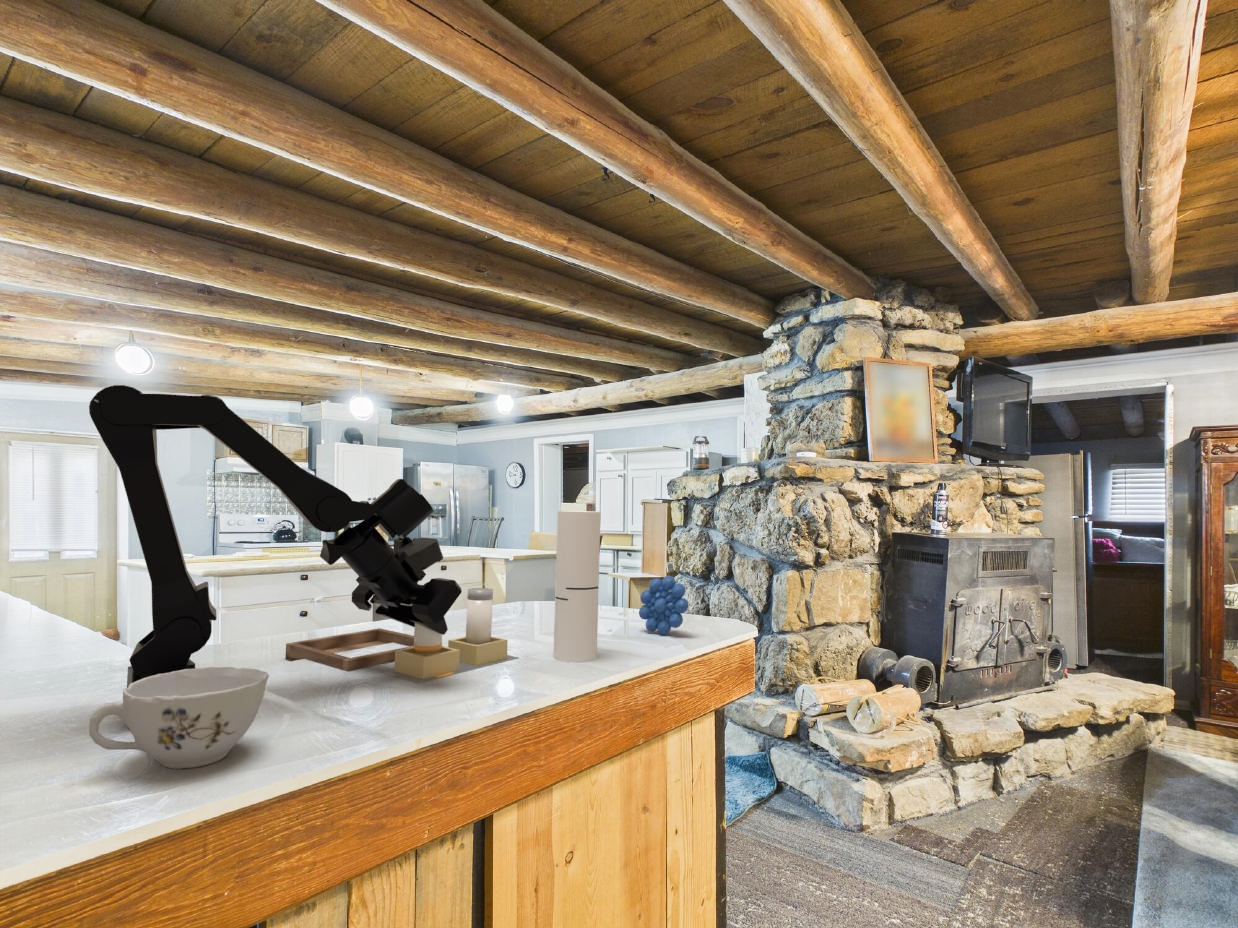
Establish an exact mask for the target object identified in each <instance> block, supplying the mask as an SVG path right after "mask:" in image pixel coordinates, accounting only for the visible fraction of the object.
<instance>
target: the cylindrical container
mask: <svg viewBox="0 0 1238 928" xmlns="http://www.w3.org/2000/svg"><path fill="white" fill-rule="evenodd" d="M601 513H602V512H601V511H597V510H596V511H595V510H594V511H593V510H557V522H556V524H557V525H556V526H557V527H556V528H557V529H556V530H557V531H556V557H555V560H556V561H555V587H554V588H555V589H554V591H555V593H554V594H555V595H554V596H555V597H554V623H553V624H554V628H553V629H554V630H553V631H554V632H553V659H554V660H556V661H558V662H563V663H574V664H575V663H577V664H578V663H589V662H593V661H595V660H596V659H597V658H598V627H599V625H598V624H599V622H598V620H599V591H600V590H599V584H600V550H601V549H600V546H601V543H600V542H601Z"/></svg>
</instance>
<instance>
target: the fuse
mask: <svg viewBox="0 0 1238 928" xmlns="http://www.w3.org/2000/svg"><path fill="white" fill-rule="evenodd" d="M493 598H494V589H493V588H488V587H485V588H484V587H475V588H468V589H467V599H466V600H467V601H466V602H467V603H466V604H467V605H466V623H465V624H466V625H465V637H466V643H470V644H474V645H480V644H485V643H489V642H491V636H492V622H493V621H492V620H493V603H494V602H493Z"/></svg>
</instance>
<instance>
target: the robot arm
mask: <svg viewBox="0 0 1238 928" xmlns="http://www.w3.org/2000/svg"><path fill="white" fill-rule="evenodd" d="M92 397H93V398H91V400H90V401H89V406H88V409H89V412H88V413H89V416H90V418H91V420H92V422H93V424H94V426H95V428H96V430H97V432H98V434H99V436H100V438H101V440H102V442H103V443H104V445H105V447H106V448H107V450H108V451H109V454H110V456H111V457H112V458H113V460H114V462H115V464H116V466H117V467H118V470H119V472H120V476H121V480H122V482H123V487H124V490H125V493H126V498H127V501H128V504H129V507H130V508H129V509H130V512H131V514H132V519H133V523H134V525H135V529H136V534H137V536H138V540H139V543H140V547H141V550H142V554H143V557H144V561H145V564H146V568H147V571H148V575H149V578H150V582H151V584H150V585H151V611H152V612H151V616H152V630H151V631H150V632H149V633H148V634H146V635H145V636H144V637H143V638H142V639H141V640H139V641H137V644H136V645H135V647H134V649H133V651H132V654H131V656H130V658H129V663H130V666H128V667H127V678H126V679H127V680H126V689H127V688H128V687H129V685H130V684H131V683H134V682H136V681H138V680H141V679H143V678H146V677H150V676H153V675H157V674H164V673H170V672H173V671H179V670H184V669H195V668H196V663H195V662H194V661H193V660H192V659H190V658H191V656H192V655H193V654H194V653H197V652H199V651H200V650H201V649H202V648H204V647H205V646H206V644H207V643H208V641H209V640H210V638H211V636H212V632H213V631H212V630H213V629H212V625H213V624H212V621H216V620H217V608H215V607H214V605H212V602H211V599H210V590H209V589H210V588H209V587H210V586H209V582H208V581H204V582H202V583H200V584H198V585H196V582H194V580H193V578H192V576H191V575H190V573H189V570H188V568H187V564H186V561H185V557H184V553H183V551H182V547H181V543H180V539H179V536H178V532H177V528H176V526H175V521H174V518H173V515H172V510H171V507H170V504H169V499H168V496H167V493H166V489H165V485H164V482H163V478H162V475H161V471H160V468H159V465H158V464H159V463H158V462H159V461H158V439H157V438H158V437H157V436H158V435H157V433H158V432H157V431H158V430H181V429H182V430H184V429H203V430H205V431H206V432H207V433H209V434H210V435H211V436H213V437H214V438H215V439H216V440H217V441H219V442H220V443H221V444H222V445H224V447H226V448H227V449H229V450H230V451H231V452H232V453H234V454H235V456H237V457H238V458H240V459H241V460H242V461H244V463H246V464H248V466H250V467H251V468H252V469H253V470H255V471H256V472H257V473H258V474H260V475H261V476H262V477H263V478H265V479H266V480H267V481H269V482H270V483H271V484H272V486H275V488H277V489H278V491H279V492H280V493H281V494H282V495H283V497H285V499H286V500H287V502H289V504H290V505H291V507H292V508H294V509H295V511H296V512H297V513H298V514H299V515H300V517H302V519H303V520H304V521H305V522H306V523H307V525H308V526H310V527H312V528H313V529H315V530H318V531H320V532H324V533H336V532H338V531H341V530H343V531H342V532H341V533H339V534H338V535H337V536H335V537H334V538H332V539H323V540H322V548H321V551H320V554H319V557H320V558H321V559H322V560H323V561H324V562H326V563H327V564H328V565H329V566H332V565H334V564H335V563H336V562H337V561H338V560H339V559H343V560H344V562H345V563H346V564H347V565H348V567H350V568H351V569H352V571H353V572H354V573H355V574H356V575H357V578H356V579H355V582H357V583H358V585H357V586H356V587H355V588H354V589H353V591H352V592H351V602H352V603H353V605H355V607H356V608H357V609H358V610H362V611H366V612H367V611H368V612H369V611H371V609H372V608H373V607H372V605H375V606H376V607H377V608H376V609H375V614H376V615H379V616H382V617H385V618H388V619H390V620H393V621H396V622H399V623H402V624H404V625H407V626H410V627H412V628H415V623H416V624H419V625H421V626H423V627H426V628H428V629H430V630H432V631H435V632H437V633H439V634H442V636H444V635H446V633H447V632H448V630H449V629H448V625H447V622H446V619H445V616H446V614H447V613H448V611H449V610H450V609H451V608H452V606H453V605H454V603H455V602H456V600H457V599H458V598H459V597H460V595H461V594H462V593H463V592H462V591H463V590H462V587H461V586H460V585H459V583H458V582H457V581H456V580H455V579H450V578H443V577H441V578H440V577H435V578H430V580H429V581H428V582H426V583H423V584H419V583H418V582H421V581H422V580H423V579H424V578H425V577H426V576H427V574H426V572H425V570H427V569H428V568H430V567H431V566H433V565H435V564H437V562H438V563H440V562H441V561H443V559H444V555H443V553H442V550H441V546H440V544H439V541H438V539H437V538H433V537H432V538H431V537H419V538H418V537H417V538H415V537H414V538H412V539H411V537H409V536H408V535H410V534H411V533H412V532H413V531H415V530H416V529H417V528H418V527H419V526H420V525H421V524H422V523H423V522H424V521H425V520H426V519H428V518H429V517H431V515H432V514H434V509H433V506H432V505H431V503H429V501H428V499H426V497H425V495H423V494H422V493H419V492H418V491H417V490H416V489H414V488H413V487H412V486H411V485H410V484H408V483H407V482H406V480H405V479H404V478H397V479H396V480H395V481H394V482H393V483H392V484H391V485H390V486H389V487H388V489H386V490H385V491H384V492H382V494H380V495H379V496H378V497H377V498H375V499H374V500H373V501H372V502H371V503H370V502H369V501H368V500H360V501H356V500H353V499H352V497H350V496H349V494H348V493H346V492H345V491H344V490H341V489H340V488H339V487H336V486H334V484H332V483H329V482H328V481H326V480H324V479H323V478H320V477H319V476H317V475H315V474H313V473H311V472H309V471H307V470H305V469H304V468H302V467H300V466H299V465H298V464H296V462H294V461H293V460H292V459H290V457H288V456H287V455H286V454H285V453H284V452H282V451H281V450H280V449H278V448H277V447H276V446H275V445H274V444H273V443H272V442H270V441H269V440H268V439H266V438H265V437H264V436H263V435H261V434H260V433H259V432H258V431H257V430H256V429H255V428H253V426H250V425H249V424H248V422H246V421H245V420H244V419H243V418H241V417H240V416H239V415H238V414H237V413H235V412H234V411H233V410H232V409H230V408H229V407H228V406H227V404H226V403H225V401H224V400H223V399H222V398H220V397H218V396H217V395H212V394H202V395H184V394H171V393H169V394H168V393H143V392H142V391H141V390H138V389H137V388H135V387H132V386H127V385H125V384H124V385H122V384H121V385H119V384H116V385H115V384H113V385H111V386H107V387H104V388H102V389H101V390H100V391H97V392H96V393H95V395H94V396H92ZM359 521H360V523H358V524H356V525H355V526H353V527H351V526H349V524H350V523H351V522H359ZM377 527H378V528H379V529H380V530H381V531H382V532H383V533H384V534H385V535H386V536H387V537H388V538H390V539H391V540H393V539H394V538H395V537H396V536H397V538H395V539H394V540H393V547H392V546H391V545H390V543H389V542H388V541H387V540H386V539H385V538H384V536H382V534H381V533H380V532H379V531H378V529H376V528H377Z"/></svg>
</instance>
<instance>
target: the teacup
mask: <svg viewBox="0 0 1238 928" xmlns="http://www.w3.org/2000/svg"><path fill="white" fill-rule="evenodd" d="M269 677H270V674H269V672H268V671H264V670H260V669H256V668H250V667H241V668H237V667H233V666H207V667H197V668H196V667H195V669H184V670H179V671H173V672H170V673H164V674H157V675H153V676H150V677H146V678H143V679H141V680H138V681H136V682H134V683H131V684H130V685H129V687H128V688H127V687H126V688H124V689H122V703H115V702H108V703H105V704H102V705H100V706H98V707H97V708H96V709H95V710H94V711H93V713H92V714H91V716H90V718H89V726H88V727H89V728H88V732H89V733H88V734H89V737H91V739H92V741H93V742H94V743H95V744H96V745H98V746H100V747H101V748H102V749H106V750H109V751H110V750H113V751H114V750H115V751H116V750H117V751H118V750H119V751H121V750H125V751H126V750H136V751H140V752H144V753H145V754H147V755H149V756H150V757H151V758H153V759H154V760H156V761H158V762H159V763H160V764H161V765H162V766H164V768H165V767H166V768H169V769H189V768H198V767H203V766H207V765H211V764H215V763H216V762H219V761H221V760H223V759H224V757H226V756H227V755H228V753H229V752H230V751H231V749H232V748H233V747H235V746H236V745H237V743H238V742H239V741H241V739H242V738H243V737H244V735H245V734H246V733H247V731H248V730H249V728H250V727H251V726H252V724H253V722H254V720H255V719H256V717H257V714H258V712H259V710H260V708H261V705H262V701H263V699H264V694H265V690H266V686H267V682H268V679H269ZM112 715H114V716H117V717H118V718H119V719H120V720H121V721H122V723H123V724H124V725H125V726H127V728H128V729H129V731H130V733H131V735H132V736H133V738H134V741H119V740H114V739H110V738H107V737H105V736H103V735H102V734H100V732H99V726H100V724H101V722H102V721H103V720H104V718H106V717H108V716H112Z"/></svg>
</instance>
